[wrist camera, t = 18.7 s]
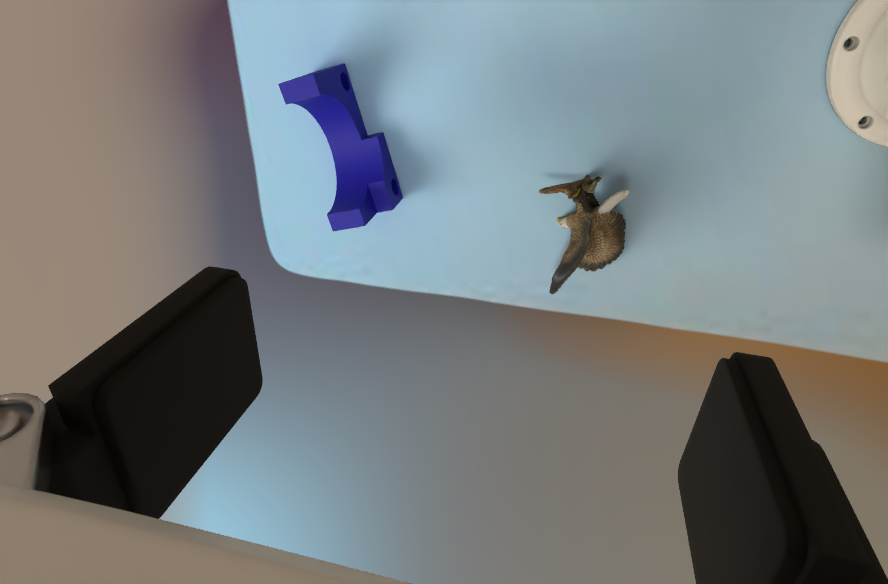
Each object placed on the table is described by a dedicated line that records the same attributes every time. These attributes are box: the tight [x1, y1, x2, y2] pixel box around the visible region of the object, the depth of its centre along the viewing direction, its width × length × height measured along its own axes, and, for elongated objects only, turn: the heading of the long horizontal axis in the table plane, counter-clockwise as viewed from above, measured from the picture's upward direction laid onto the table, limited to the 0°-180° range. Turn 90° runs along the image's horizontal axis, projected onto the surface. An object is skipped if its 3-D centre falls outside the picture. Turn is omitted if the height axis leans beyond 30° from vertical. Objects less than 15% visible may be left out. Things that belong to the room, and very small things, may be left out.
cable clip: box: [279, 64, 403, 231], centre depth 45 cm, size 12×4×6 cm, turn 15°
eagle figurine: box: [539, 175, 629, 294], centre depth 44 cm, size 8×7×9 cm
